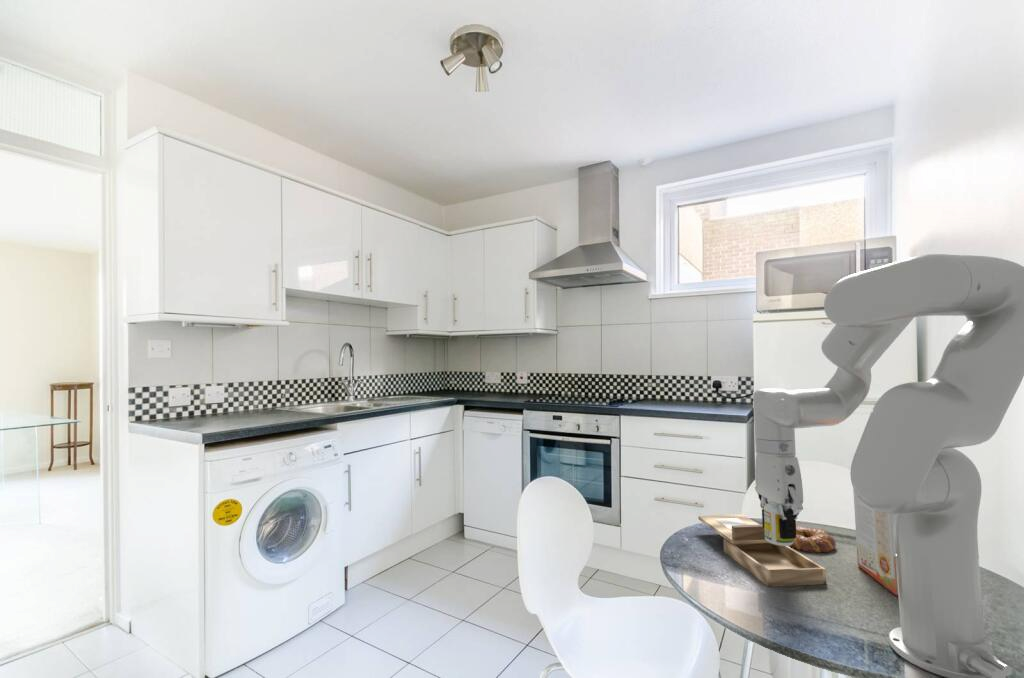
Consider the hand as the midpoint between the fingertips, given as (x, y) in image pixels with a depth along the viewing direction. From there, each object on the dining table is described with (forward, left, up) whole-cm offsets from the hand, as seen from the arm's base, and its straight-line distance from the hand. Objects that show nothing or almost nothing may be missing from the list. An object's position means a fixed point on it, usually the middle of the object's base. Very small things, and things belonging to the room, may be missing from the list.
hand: (778, 532), depth 100 cm
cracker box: (-5, -20, -9) cm, 22 cm away
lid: (+17, 0, -5) cm, 18 cm away
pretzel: (+15, -16, -9) cm, 24 cm away
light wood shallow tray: (+4, 0, -9) cm, 10 cm away
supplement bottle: (0, 0, -2) cm, 2 cm away
